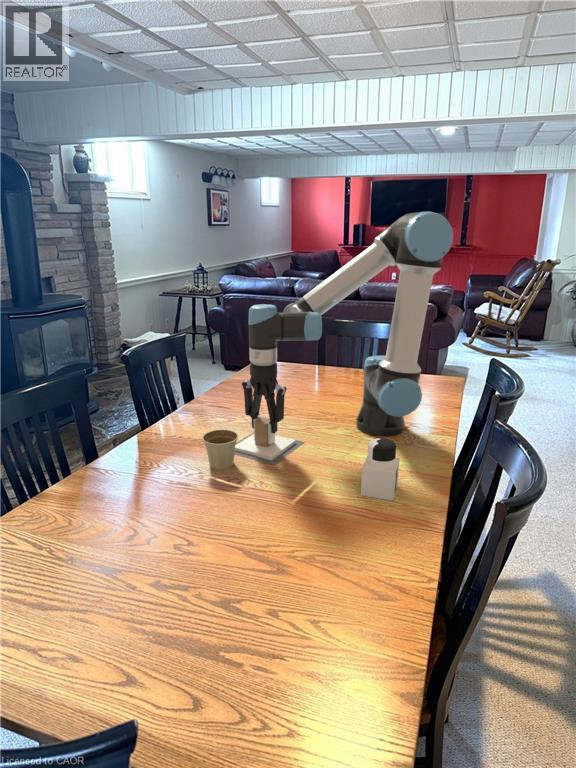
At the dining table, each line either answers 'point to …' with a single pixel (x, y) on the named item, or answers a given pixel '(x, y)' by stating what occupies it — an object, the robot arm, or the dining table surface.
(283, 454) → the mat
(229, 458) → the flower pot
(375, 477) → the container
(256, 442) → the lid
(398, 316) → the robot arm
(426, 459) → the dining table surface
